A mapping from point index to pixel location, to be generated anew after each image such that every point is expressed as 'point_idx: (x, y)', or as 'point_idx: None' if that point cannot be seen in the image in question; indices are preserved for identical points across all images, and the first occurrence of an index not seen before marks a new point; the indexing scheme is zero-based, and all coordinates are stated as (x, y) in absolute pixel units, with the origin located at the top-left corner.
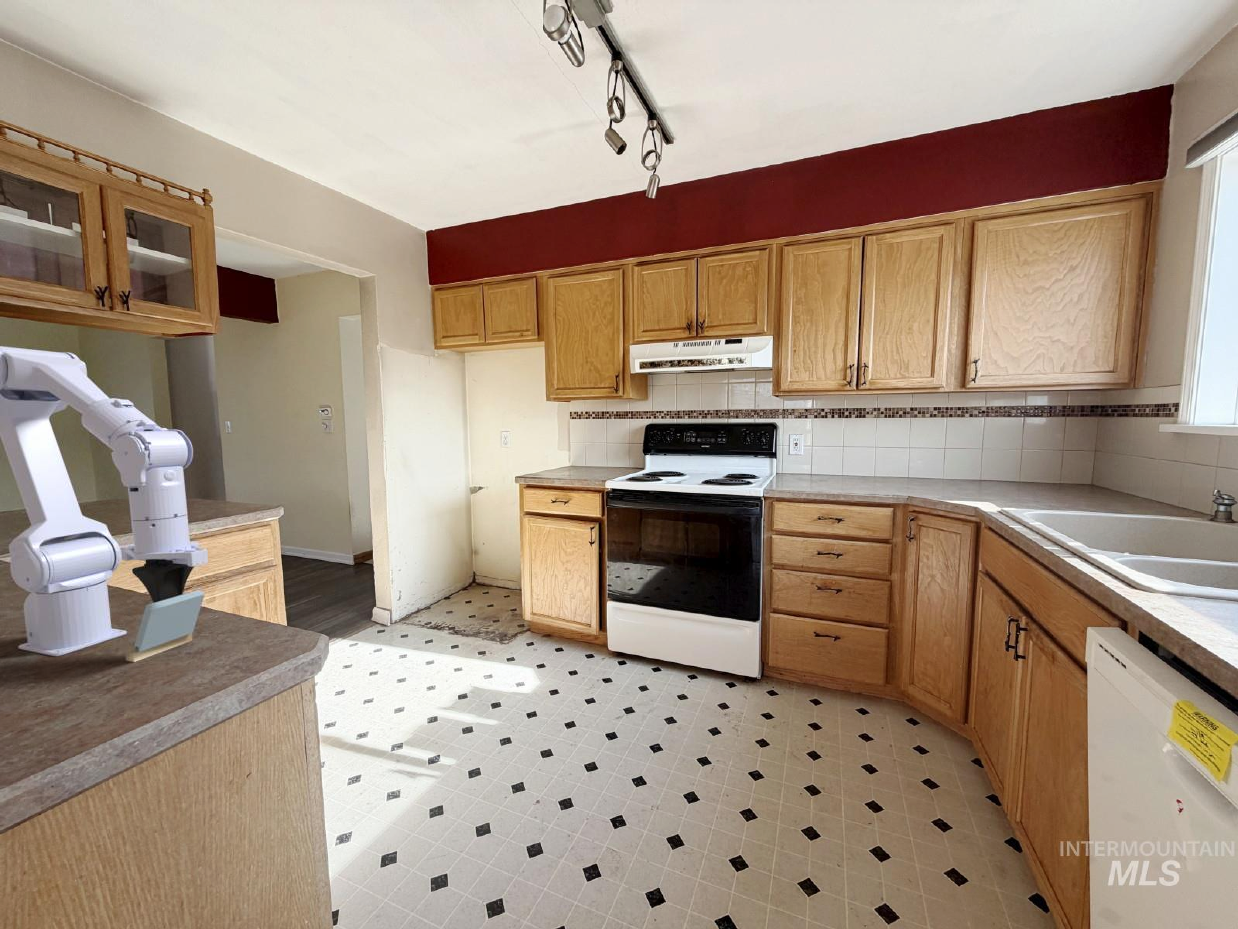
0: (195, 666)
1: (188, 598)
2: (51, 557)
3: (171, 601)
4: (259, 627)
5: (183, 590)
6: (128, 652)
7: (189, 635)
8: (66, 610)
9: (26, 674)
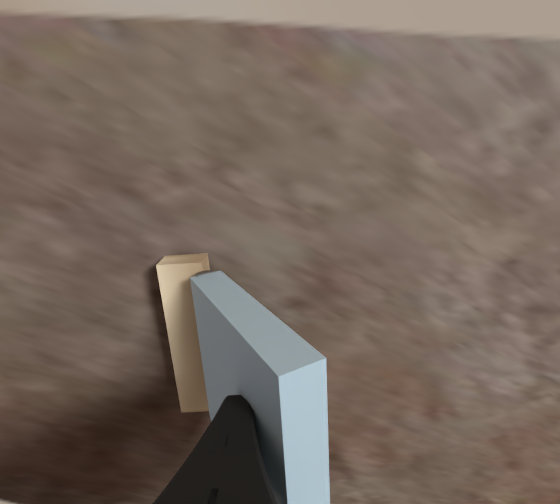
0: (413, 345)
1: (321, 432)
2: None
3: (312, 500)
4: (307, 70)
5: (260, 460)
6: (194, 410)
7: (203, 267)
8: None
9: (42, 491)
